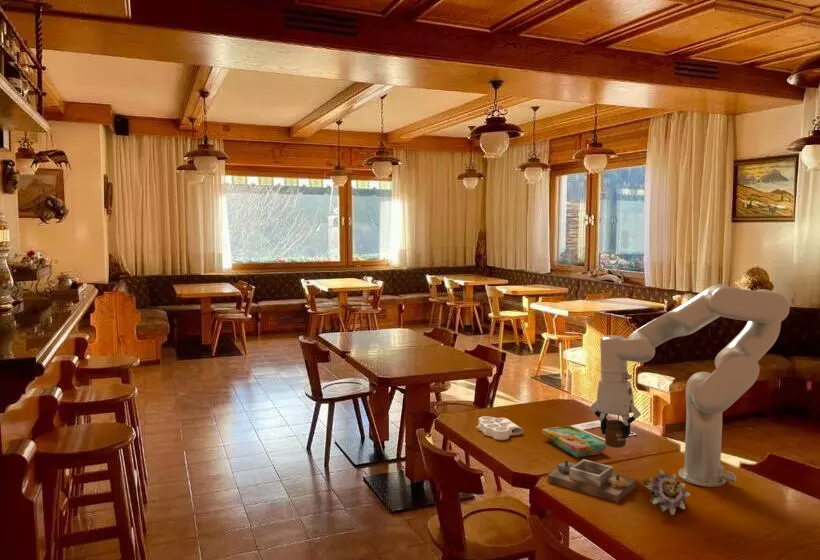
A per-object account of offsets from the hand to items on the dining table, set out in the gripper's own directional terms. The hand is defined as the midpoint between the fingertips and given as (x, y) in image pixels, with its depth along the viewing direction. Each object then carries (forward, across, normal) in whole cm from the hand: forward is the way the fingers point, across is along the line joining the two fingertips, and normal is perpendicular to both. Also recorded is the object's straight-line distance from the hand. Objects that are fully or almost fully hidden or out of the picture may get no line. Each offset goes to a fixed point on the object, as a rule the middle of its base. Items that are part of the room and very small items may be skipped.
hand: (615, 434), depth 186 cm
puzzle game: (+11, +20, -10) cm, 25 cm away
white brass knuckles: (+10, +48, -7) cm, 49 cm away
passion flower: (+12, -20, +16) cm, 28 cm away
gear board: (+11, +1, +15) cm, 18 cm away
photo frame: (+12, +18, -32) cm, 39 cm away
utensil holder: (+3, 0, 0) cm, 3 cm away
